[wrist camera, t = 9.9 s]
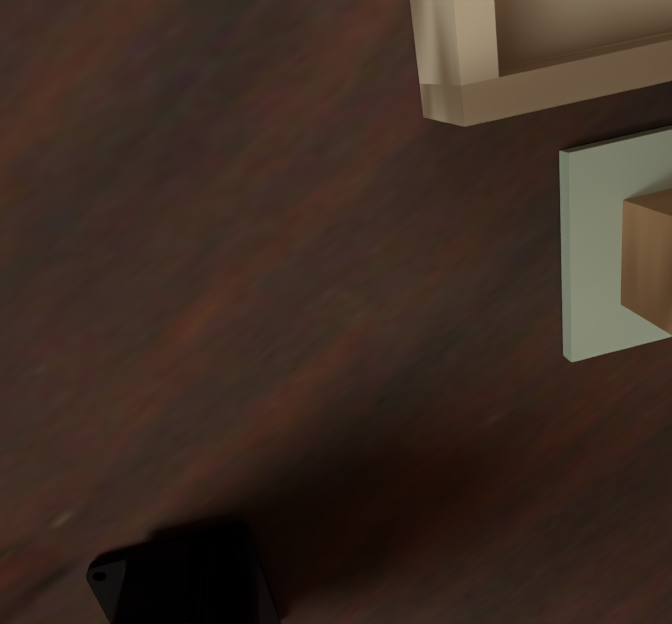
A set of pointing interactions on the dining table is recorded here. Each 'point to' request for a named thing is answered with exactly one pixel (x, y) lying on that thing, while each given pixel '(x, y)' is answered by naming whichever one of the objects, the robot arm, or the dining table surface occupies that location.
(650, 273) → the teak block
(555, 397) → the dining table surface
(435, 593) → the dining table surface
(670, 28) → the access box
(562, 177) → the pad
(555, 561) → the dining table surface
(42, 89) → the dining table surface
